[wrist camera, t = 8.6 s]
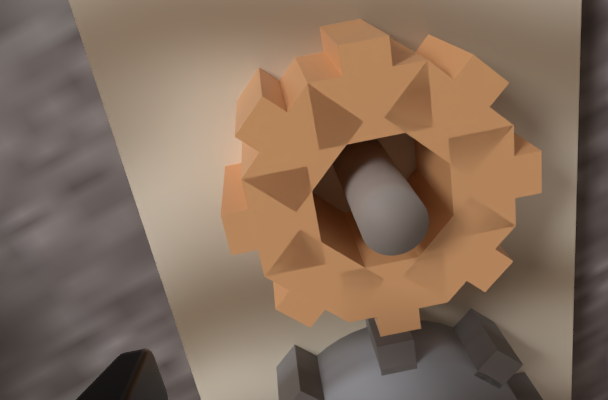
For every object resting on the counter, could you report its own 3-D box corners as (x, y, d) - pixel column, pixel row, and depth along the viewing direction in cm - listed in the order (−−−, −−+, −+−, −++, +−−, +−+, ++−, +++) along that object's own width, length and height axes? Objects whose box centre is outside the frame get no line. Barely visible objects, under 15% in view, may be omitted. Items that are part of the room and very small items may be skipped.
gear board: (549, 472, 23) (634, 618, 18) (257, 533, 23) (260, 698, 18) (552, -157, 14) (727, -219, 9) (66, -63, 14) (-37, -72, 9)
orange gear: (492, 245, 17) (541, 303, 14) (256, 292, 16) (259, 361, 14) (482, -6, 14) (541, 5, 11) (195, 50, 14) (183, 75, 11)
